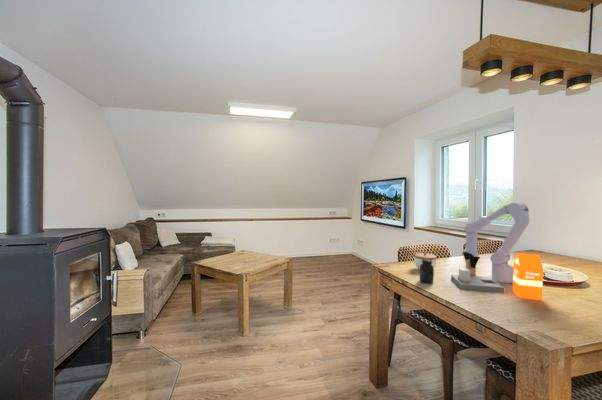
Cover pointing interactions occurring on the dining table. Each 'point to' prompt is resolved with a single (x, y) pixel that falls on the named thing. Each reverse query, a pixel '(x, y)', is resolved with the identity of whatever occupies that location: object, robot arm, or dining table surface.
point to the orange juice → (528, 276)
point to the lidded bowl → (420, 256)
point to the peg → (472, 270)
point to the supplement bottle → (426, 271)
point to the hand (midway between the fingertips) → (470, 265)
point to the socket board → (475, 282)
